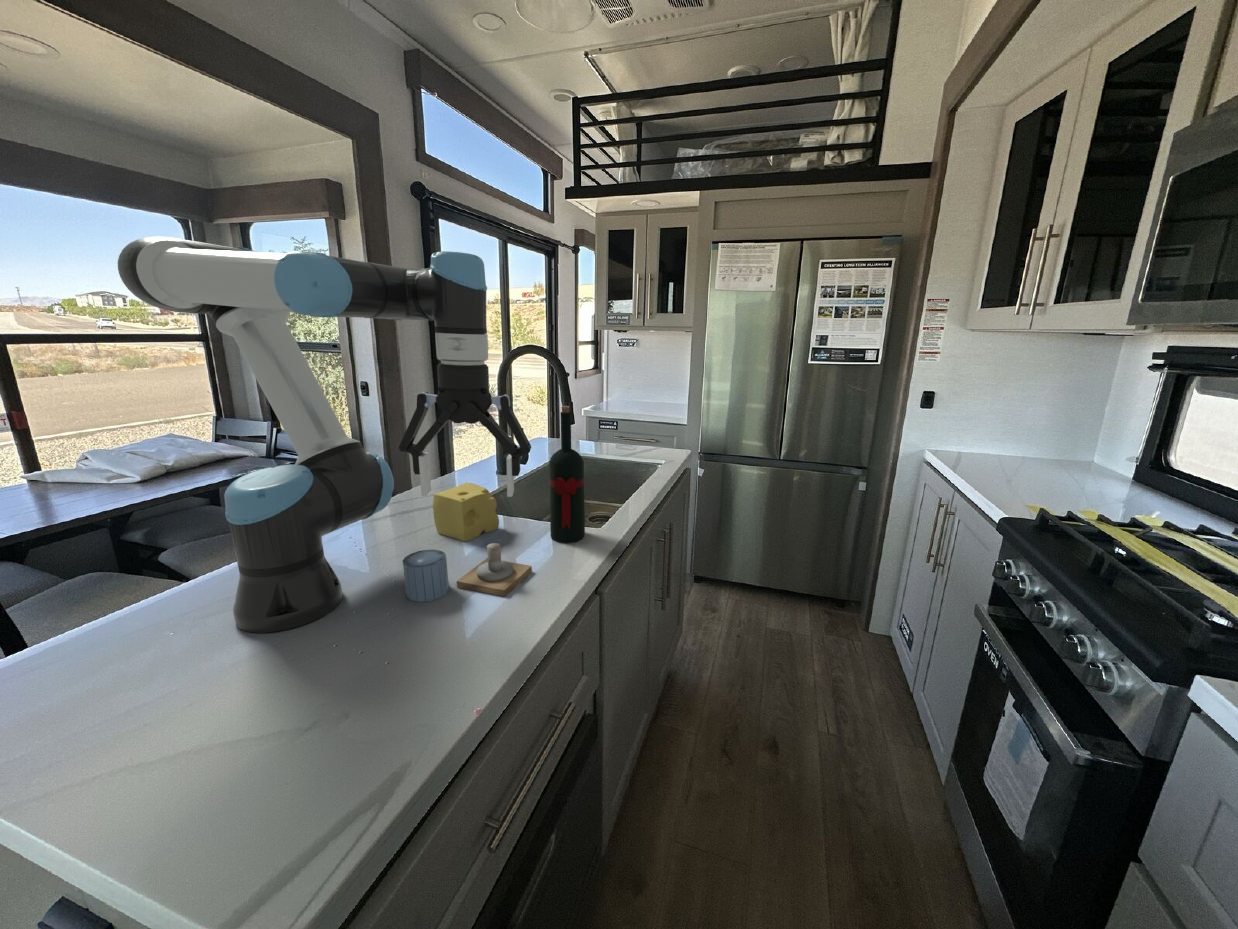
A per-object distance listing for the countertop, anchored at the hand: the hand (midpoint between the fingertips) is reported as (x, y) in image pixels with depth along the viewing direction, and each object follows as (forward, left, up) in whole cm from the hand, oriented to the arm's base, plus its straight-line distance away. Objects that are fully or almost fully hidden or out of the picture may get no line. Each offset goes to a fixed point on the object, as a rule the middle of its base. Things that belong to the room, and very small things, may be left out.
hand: (468, 493), depth 80 cm
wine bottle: (+4, +29, -20) cm, 36 cm away
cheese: (-20, +25, -20) cm, 38 cm away
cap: (-10, -1, -20) cm, 22 cm away
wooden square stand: (-1, +7, -20) cm, 21 cm away
